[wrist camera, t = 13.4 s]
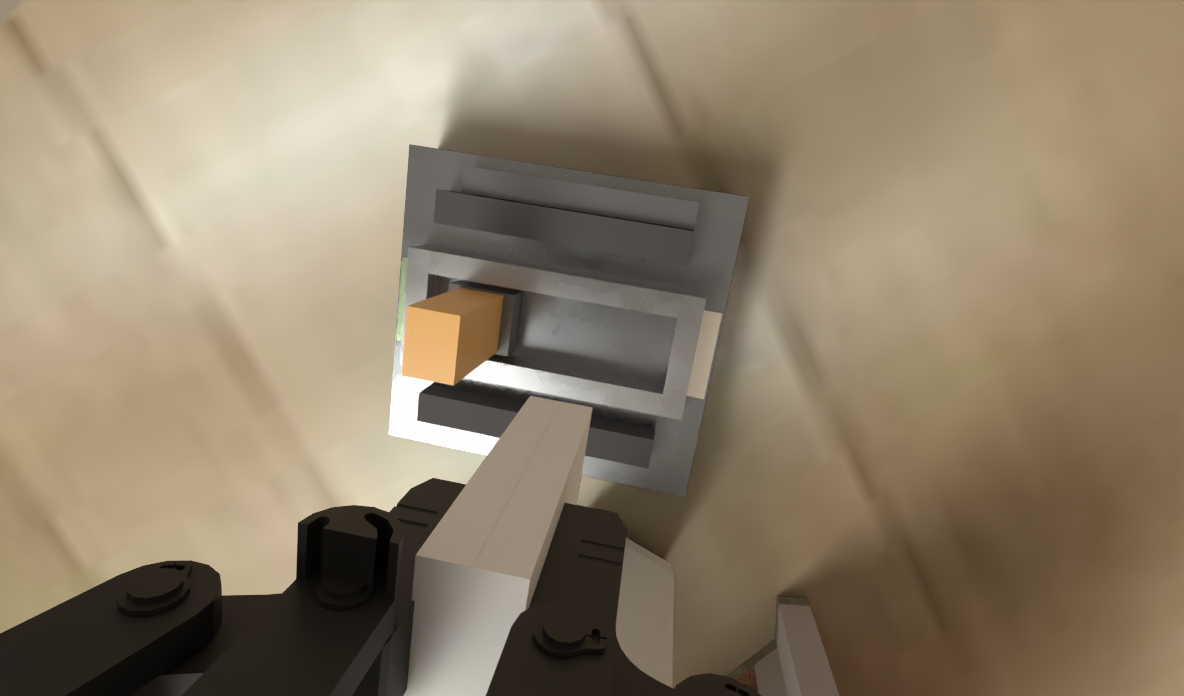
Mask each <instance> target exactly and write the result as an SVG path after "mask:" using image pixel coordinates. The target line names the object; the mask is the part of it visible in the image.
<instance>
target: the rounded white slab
mask: <svg viewBox="0 0 1184 696" xmlns="http://www.w3.org/2000/svg"><path fill="white" fill-rule="evenodd" d="M622 567H623V568H622V576H621V585H620V593H619V602H618V610H617V619H616V637H617V639H618V642H619V645H620V647H621V649H622V650H623V652H624V653H625V655H626V656H627V657H628V659H629V660H630V661H631V662H632V663H633V664H634V665H635V666H637V667H638V668H639V669H640V670H641V671H643V672H644V673H646V674H647V675H649V676H651V677H652V678H654V679H656V680H657V681H659V682H661V683H663V684H665V685H667V686H669V687H671V688H672V687H673V629H674V573H673V570H672V567H671V564H670V563H669V562H667V561H665V560H664V559H662V558H660V557H659V556H657V555H655V554H653V553H652V552H650V551H648V550H646V549H645V548H643V547H641V546H640V545H638V544H636V543H634V542H633V541H631V540H629V539H628V538H626V543H625V550H624V559H623V566H622Z"/></svg>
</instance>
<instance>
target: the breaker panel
mask: <svg viewBox="0 0 1184 696" xmlns="http://www.w3.org/2000/svg"><path fill="white" fill-rule="evenodd" d="M464 166H470V167H476V168H483V169H489V170H496V171H502V172H508V173H515V174H521V175H527V176H534V177H540V178H547V179H553V180H559V181H566V182H572V183H578V184H585V185H591V186H597V187H604V188H610V189H617V190H623V191H629V192H636V193H642V194H648V195H655V196H661V197H668V198H674V199H680V200H687V201H693V202H699V203H700V204H699V209H698V214H697V219H696V225H695V230H694V236H693V241H692V246H691V251H690V256H689V262H688V266H687V265H681V264H675V263H669V262H663V261H657V260H651V259H645V258H639V257H633V256H627V255H621V254H615V253H610V252H604V251H598V250H592V249H586V248H580V247H574V246H568V245H562V244H556V243H550V242H544V241H538V240H532V239H527V238H521V237H515V236H509V235H503V234H497V233H491V232H485V231H479V230H473V229H467V228H461V227H455V226H449V225H444V224H438V223H434V211H435V199H436V190H448V191H454V192H461V193H464V192H462V181H463V171H464ZM467 194H470V193H467ZM473 195H476V194H473ZM479 196H482V195H479ZM485 197H488V196H485ZM491 198H494V197H491ZM498 199H501V198H498ZM504 200H507V199H504ZM510 201H513V200H510ZM748 201H749V197H746V196H740V195H733V194H727V193H720V192H714V191H707V190H701V189H695V188H688V187H682V186H675V185H669V184H662V183H656V182H649V181H643V180H636V179H630V178H623V177H617V176H610V175H604V174H597V173H591V172H584V171H578V170H572V169H565V168H559V167H552V166H546V165H539V164H533V163H526V162H520V161H513V160H507V159H500V158H494V157H487V156H481V155H474V154H468V153H461V152H455V151H449V150H442V149H436V148H429V147H423V146H416V145H409V159H408V173H407V187H406V201H405V214H404V228H403V242H402V256H401V270H400V284H399V298H398V311H397V325H396V339H395V353H394V367H393V381H392V394H391V408H390V422H389V435H392V436H397V437H402V438H406V439H411V440H416V441H421V442H425V443H430V444H435V445H440V446H444V447H449V448H454V449H459V450H463V451H468V452H473V453H478V454H482V455H488V454H489V452H490V451H491V450H492V448H493V447H494V445H495V444H496V443H497V441H498V440H499V438H497V437H493V436H488V435H483V434H478V433H473V432H468V431H464V430H459V429H454V428H449V427H444V426H439V425H435V424H430V423H425V422H420V421H417V412H418V400H419V393H420V392H421V391H422V390H424V389H425V388H427V387H428V386H430V385H431V384H433V385H438V386H443V387H448V388H453V389H458V390H463V391H468V392H473V393H478V394H483V395H488V396H493V397H498V398H503V399H508V400H513V401H518V402H523V403H525V402H526V401H527V400H528V398H529V397H530V396H534V397H540V398H545V399H550V400H555V401H561V402H566V403H571V404H577V405H582V406H587V407H593V408H592V414H591V416H593V417H598V418H603V419H608V420H613V421H618V422H623V423H628V424H633V425H638V426H644V427H649V428H654V429H655V435H654V442H653V447H652V452H651V457H650V463H649V468H648V469H647V468H642V467H637V466H633V465H628V464H623V463H618V462H613V461H608V460H604V459H599V458H594V457H589V456H585V457H584V463H583V469H582V476H587V477H591V478H596V479H601V480H606V481H610V482H615V483H620V484H625V485H629V486H634V487H639V488H644V489H648V490H653V491H658V492H663V493H667V494H672V495H677V496H682V497H685V496H686V491H687V486H688V482H689V477H690V472H691V467H692V463H693V458H694V453H695V449H696V444H697V439H698V435H699V430H700V425H701V421H702V416H703V411H704V407H705V402H706V397H707V393H708V388H709V383H710V379H711V374H712V369H713V365H714V360H715V355H716V351H717V346H718V341H719V337H720V332H721V327H722V323H723V318H724V313H725V309H726V304H727V299H728V295H729V290H730V285H731V281H732V276H733V271H734V267H735V262H736V257H737V253H738V248H739V243H740V238H741V234H742V229H743V224H744V220H745V215H746V210H747V206H748ZM516 202H519V201H516ZM522 203H525V202H522ZM528 204H531V203H528ZM535 205H538V204H535ZM541 206H544V205H541ZM547 207H550V206H547ZM553 208H556V207H553ZM559 209H562V208H559ZM565 210H568V209H565ZM572 211H575V210H572ZM578 212H581V211H578ZM584 213H587V212H584ZM590 214H593V213H590ZM596 215H599V214H596ZM602 216H606V215H602ZM609 217H612V216H609ZM615 218H618V217H615ZM621 219H624V218H621ZM627 220H630V219H627ZM633 221H636V220H633ZM639 222H643V221H639ZM646 223H649V222H646ZM652 224H655V223H652ZM658 225H661V224H658ZM664 226H667V225H664ZM670 227H673V226H670ZM677 228H680V227H677ZM683 229H686V228H683ZM689 230H692V229H689ZM459 280H461V281H466V282H472V283H477V284H483V285H489V286H494V287H500V288H505V289H511V290H517V291H522V297H521V305H520V313H519V321H518V329H517V337H516V345H515V351H513V352H512V353H511V354H510V355H509V356H503V355H497V354H494V355H493V356H491V357H490V358H489V359H488V360H486V361H485V362H484V363H482V364H481V365H480V366H478V367H477V368H476V369H475V370H473V371H472V372H471V373H469V374H468V375H467V376H465V377H464V378H463V379H461V380H460V381H459V382H458V383H456V384H455V385H454V386H453V385H448V384H443V383H438V382H433V381H428V380H423V379H418V378H413V377H408V376H403V375H402V362H403V349H404V336H405V323H406V310H407V306H408V305H411V304H414V303H417V302H420V301H423V300H425V299H428V298H431V297H434V296H437V295H440V294H443V293H446V292H449V283H452V282H455V281H459Z"/></svg>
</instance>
